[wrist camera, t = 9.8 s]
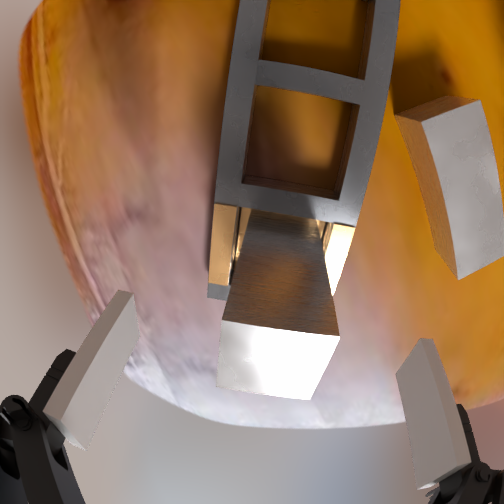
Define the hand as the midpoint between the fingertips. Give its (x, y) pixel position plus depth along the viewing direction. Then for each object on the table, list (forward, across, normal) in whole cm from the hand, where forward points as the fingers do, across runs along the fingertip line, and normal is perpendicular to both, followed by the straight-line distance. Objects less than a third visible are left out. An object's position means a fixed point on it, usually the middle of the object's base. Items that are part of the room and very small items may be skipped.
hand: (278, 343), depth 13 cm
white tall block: (+10, 0, -1) cm, 10 cm away
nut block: (+11, +11, +7) cm, 17 cm away
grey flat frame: (+10, 0, +7) cm, 12 cm away
